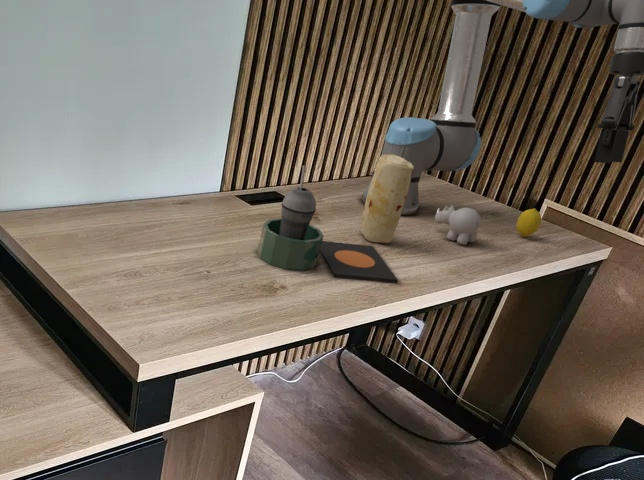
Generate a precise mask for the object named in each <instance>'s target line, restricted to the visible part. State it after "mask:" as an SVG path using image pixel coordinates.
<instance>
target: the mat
mask: <svg viewBox="0 0 644 480" xmlns="http://www.w3.org/2000/svg"><path fill="white" fill-rule="evenodd" d="M319 255H320V256H321V258H322V259H323V261H324V263H325V265H326V266H327V268H328V269H329V272H331V275H332V277H333V278H340V279H352V280H361V281H373V282H381V283H390V284H391V283H393V284H397V283H398V281H399V279H398V278H397V277H396V275H395V274H394V272H393V271H392V270H391V269H390V267H389V266H388V264H387V263H386V262H385V260H384V259H383V258H382V256H381V255H380V254H379V253H378V251H377V250H376V248H375V247H374V246H373V245H367V244H366V245H365V244H355V243H346V242H336V241H327V240H322V244H321V248H320V252H319Z"/></svg>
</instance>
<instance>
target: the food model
mask: <svg viewBox="0 0 644 480" xmlns="http://www.w3.org/2000/svg"><path fill="white" fill-rule="evenodd" d="M374 171H375V172H374V175H372V178H371V181H370V182H371V185H370V188H369V191H368V195H367V198H366V202H365V204H364V207H363V211H362V216H361V224H360V232H361V234H362V235H363V236H364V239H365V240H367V241H368V242H372V243H382V244H389V243H391V242H392V241H393V239H394V235H395V232H396V230H397V227H398V225H399V222H400V219H401V217H402V215H401V212H402V209H403V206H404V203H405V200H406V196H407V193H408V189H409V185H410V181H411V177H412V174H413V171H414V167H413V165H412V164H411V163H410V162H408V161H406V160H405V159H403V158H401V157H399V156H396V155H382V156H381V155H380V157H379V158H378V161H377V164H376V168H375V170H374Z"/></svg>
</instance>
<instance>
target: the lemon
mask: <svg viewBox="0 0 644 480" xmlns="http://www.w3.org/2000/svg"><path fill="white" fill-rule="evenodd" d="M541 223H542V215H541V214H540V212H539V211H538V210H537V209H536V208H535V207H534V208H529V209H526V210H524V211H523V212H522V213H521V214H520V215H519V216H518V218H517V221H516V225H515V226H516V231H517V232H518V233H519V234H520V237H522V238H525V237H528V236H532V235H534V234H535V233H536V232H537V231H538V230H539V228H540V226H541Z"/></svg>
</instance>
